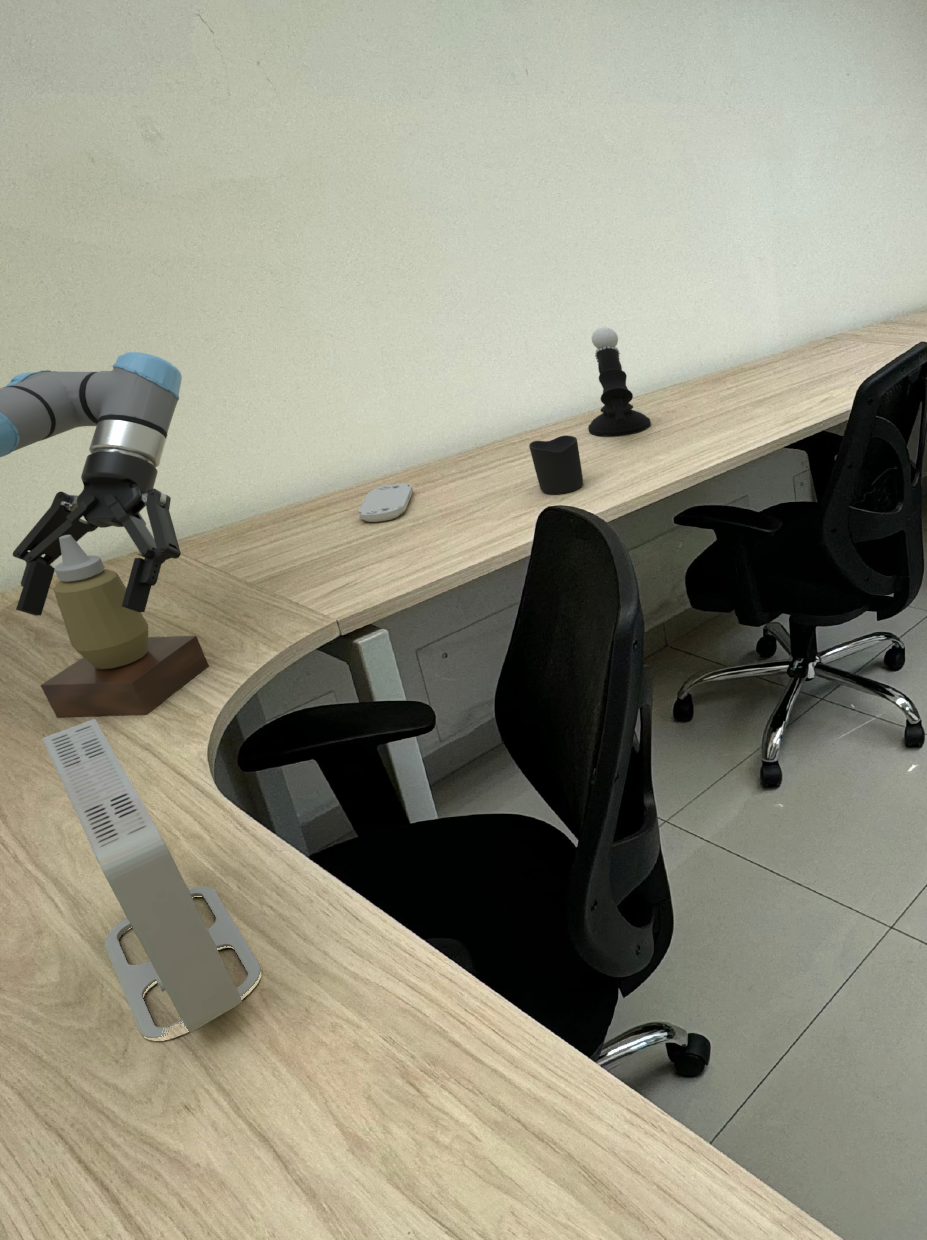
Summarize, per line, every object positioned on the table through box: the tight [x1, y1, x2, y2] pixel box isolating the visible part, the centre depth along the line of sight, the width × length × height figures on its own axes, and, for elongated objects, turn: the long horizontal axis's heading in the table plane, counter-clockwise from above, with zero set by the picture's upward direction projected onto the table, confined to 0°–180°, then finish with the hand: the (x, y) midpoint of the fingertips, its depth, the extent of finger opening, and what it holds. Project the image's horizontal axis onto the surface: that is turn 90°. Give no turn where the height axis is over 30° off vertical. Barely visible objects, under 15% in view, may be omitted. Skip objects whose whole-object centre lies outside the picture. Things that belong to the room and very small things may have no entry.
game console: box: [357, 482, 414, 523], centre depth 184 cm, size 18×2×8 cm
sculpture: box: [587, 326, 652, 437], centre depth 221 cm, size 15×24×25 cm, turn 20°
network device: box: [41, 718, 262, 1038], centre depth 78 cm, size 26×9×20 cm, turn 48°
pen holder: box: [528, 435, 584, 495], centre depth 189 cm, size 9×9×10 cm
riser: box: [40, 635, 210, 718], centre depth 123 cm, size 12×12×5 cm
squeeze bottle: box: [53, 535, 149, 669], centre depth 118 cm, size 8×8×18 cm
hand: (80, 611), depth 116 cm, fingers open, 13 cm apart
